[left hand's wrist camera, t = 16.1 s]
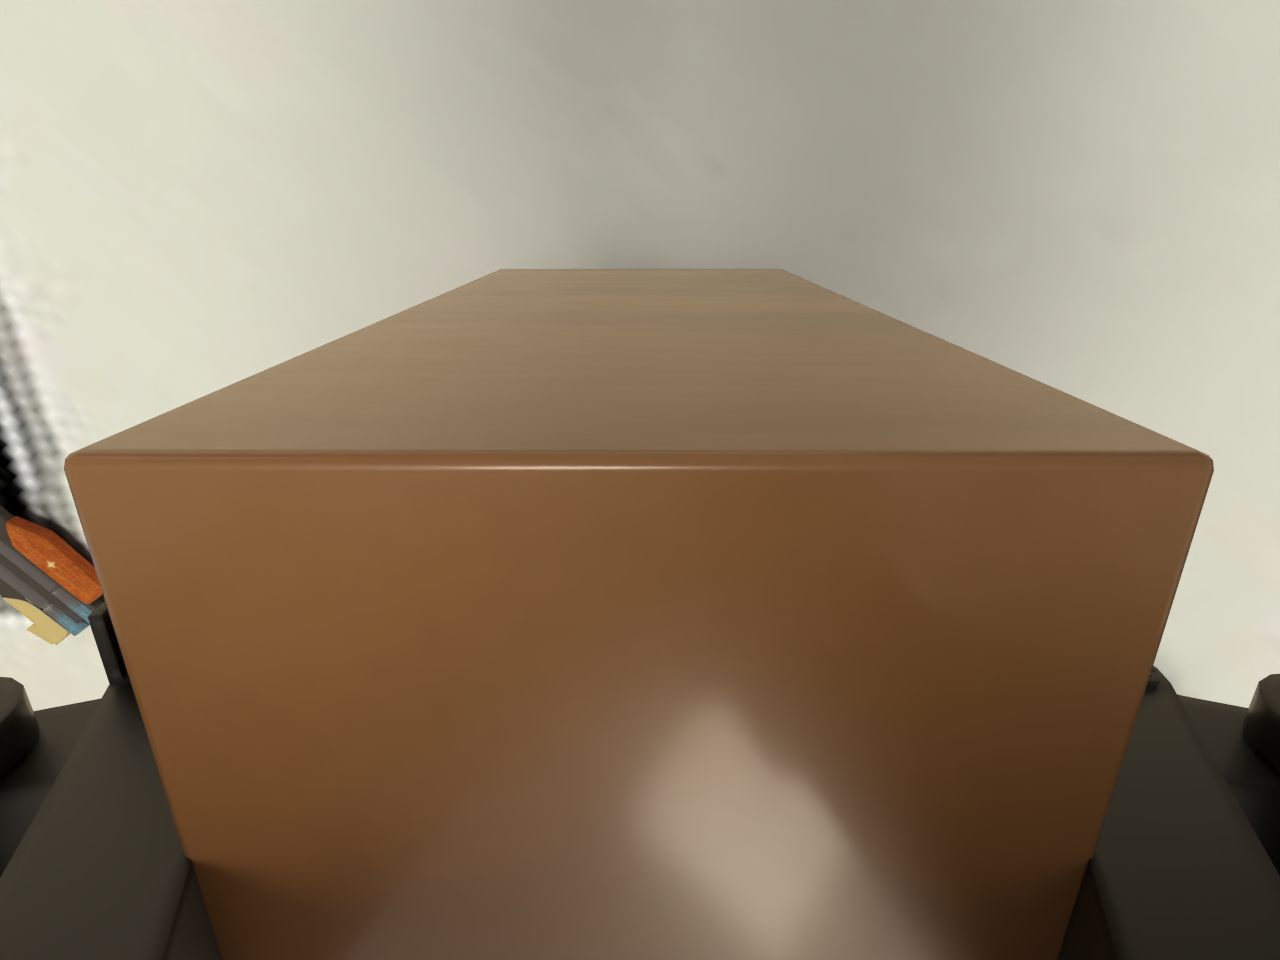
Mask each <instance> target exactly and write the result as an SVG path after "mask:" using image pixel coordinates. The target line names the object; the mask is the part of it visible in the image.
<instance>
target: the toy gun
mask: <svg viewBox="0 0 1280 960" xmlns="http://www.w3.org/2000/svg"><path fill="white" fill-rule="evenodd" d="M102 594H103V592H102V589H101V586H100V583H99V579H98V576H97V573H96V570H95V567H94V566H92V565H91V564H90V563H89V562H88V561H87V560H86V559H84V558H83V557H82V556H81V555H80V554H79V553H77V552H76V551H75V550H74V549H73V548H72V547H71V546H69V545H68V544H67V543H66V542H65V541H64V540H63V539H61V538H60V537H59V536H58V535H57V534H56V533H54V532H53V531H51V530H49V529H47V528H45V527H42V526H40V525H37V524H35V523H33V522H30V521H28V520H25V519H23V518H21V517H18V516H14V515H12V514H10V513H9V512H8V511H6V510H5V509H4V508H3V507H2V506H1V505H0V595H2V598H3V599H4V600H6V601H7V602H8V603H9V604H11V605H12V606H13V607H14V608H16V609H17V610H18V611H20V612H21V613H22V614H23V615H25V616H26V617H27V618H28V619H29V620H31V621H32V622H33V623H34V624H33V625H32V626H31V627H29V628H28V629H27V630H28V631H30V632H31V633H33V634H35V635H37V636H38V637H40V638H42V639H44V640H45V641H47V642H49V643H50V644H53V643H54V644H56V645H57V644H58V643H60V642H61V641H62V640H63V639H65V638H66V637H67V636H68V635H69V634H70V633H71V634H73V635H74V636H76V635H78V634H79V633H80V632H81V631H83V630H84V629H85V628H86V627H87V626H89V625H90V623H89V620H88V616H89V615H90V614H91V613H92V612H93V611H94V610H95V609H96V608H98V607H99V606H100V605H101V604H102V603H103V602H102V601H100V600H99V599H98V597H100V596H101V595H102Z"/></svg>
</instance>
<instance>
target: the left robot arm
mask: <svg viewBox="0 0 1280 960" xmlns="http://www.w3.org/2000/svg"><path fill="white" fill-rule="evenodd" d="M88 620H89V623H90V626H91V629H92V632H93V635H94V638H95V641H96V644H97V647H98V650H99V653H100V656H101V659H102V662H103V665H104V668H105V671H106V674H107V677H108V680H109V683H110V685H109V686H108V688H107V690H106V692H105V693H104V695H103V697H102V698H101V699H97V700H92V701H86V702H81V703H76V704H70V705H65V706H60V707H54V708H49V709H44V710H39V711H33V709H32V707H31V704H30V702H29V699H28V696H27V694H26V691H25V689H24V686H23V685H22V684H20V683H19V682H17V681H16V680H14V679H12V678H7V677H0V960H223V959H222V956H221V953H220V950H219V947H218V943H217V940H216V937H215V934H214V930H213V927H212V924H211V921H210V918H209V914H208V911H207V908H206V905H205V901H204V898H203V895H202V892H201V889H200V885H199V882H198V879H197V876H196V872H195V869H194V866H193V863H192V860H191V859H189V858H187V857H185V854H184V851H183V848H182V845H181V842H180V838H179V835H178V832H177V829H176V826H175V822H174V819H173V816H172V813H171V810H170V806H169V803H168V800H167V797H166V794H165V790H164V787H163V784H162V781H161V778H160V774H159V771H158V768H157V765H156V762H155V758H154V755H153V752H152V749H151V746H150V742H149V739H148V736H147V733H146V730H145V727H144V723H143V720H142V717H141V714H140V711H139V707H138V704H137V701H136V698H135V695H134V691H133V688H132V685H131V682H130V679H129V675H128V672H127V669H126V666H125V663H124V659H123V656H122V653H121V650H120V647H119V643H118V640H117V637H116V634H115V631H114V627H113V624H112V621H111V618H110V615H109V611H108V608H107V605H106V602H104V603H102V604H101V605H100V606H99V607H98V608H96V609H95V610H94V611H93V612H92V613H91V614H90V615H89V616H88ZM1058 960H1280V674H1272V675H1269V676H1268V677H1266V678H1264V679H1263V680H1261V681H1259V683H1258V686H1257V688H1256V691H1255V693H1254V696H1253V699H1252V701H1251V704H1250V706H1249V708H1244V707H1239V706H1233V705H1228V704H1223V703H1217V702H1212V701H1207V700H1201V699H1196V698H1191V697H1185V696H1181V695H1177V694H1176V692H1175V690H1174V689H1173V687H1172V685H1171V683H1170V682H1169V681H1168V680H1167V679H1166V678H1165V677H1164V675H1163V674H1162V673H1161V672H1160V671H1159V670H1158V669H1157V668H1156V667H1154V666H1153V667H1152V670H1151V674H1150V677H1149V680H1148V683H1147V686H1146V690H1145V693H1144V696H1143V699H1142V702H1141V706H1140V709H1139V712H1138V715H1137V718H1136V722H1135V725H1134V728H1133V731H1132V734H1131V738H1130V741H1129V744H1128V747H1127V751H1126V754H1125V757H1124V760H1123V763H1122V767H1121V770H1120V773H1119V776H1118V779H1117V783H1116V786H1115V789H1114V792H1113V795H1112V799H1111V802H1110V805H1109V808H1108V811H1107V815H1106V818H1105V821H1104V824H1103V828H1102V831H1101V834H1100V837H1099V840H1098V844H1097V847H1096V850H1095V853H1094V856H1093V858H1091V859H1089V861H1088V865H1087V868H1086V871H1085V874H1084V878H1083V881H1082V884H1081V887H1080V890H1079V894H1078V897H1077V900H1076V903H1075V906H1074V910H1073V913H1072V916H1071V919H1070V923H1069V926H1068V929H1067V932H1066V935H1065V939H1064V942H1063V945H1062V948H1061V952H1060V955H1059V958H1058Z"/></svg>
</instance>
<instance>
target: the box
mask: <svg viewBox="0 0 1280 960" xmlns="http://www.w3.org/2000/svg"><path fill="white" fill-rule="evenodd" d="M64 471H65V474H66V477H67V480H68V483H69V487H70V490H71V493H72V496H73V499H74V503H75V506H76V509H77V512H78V515H79V519H80V522H81V525H82V528H83V531H84V535H85V538H86V541H87V544H88V547H89V551H90V554H91V557H92V560H93V563H94V567H95V570H96V573H97V576H98V579H99V583H100V586H101V589H102V592H103V595H104V599H105V602H106V605H107V608H108V611H109V615H110V618H111V621H112V624H113V627H114V631H115V634H116V637H117V640H118V643H119V647H120V650H121V653H122V656H123V659H124V663H125V666H126V669H127V672H128V675H129V679H130V682H131V685H132V688H133V691H134V695H135V698H136V701H137V704H138V707H139V711H140V714H141V717H142V720H143V723H144V727H145V730H146V733H147V736H148V739H149V742H150V746H151V749H152V752H153V755H154V758H155V762H156V765H157V768H158V771H159V774H160V778H161V781H162V784H163V787H164V790H165V794H166V797H167V800H168V803H169V806H170V810H171V813H172V816H173V819H174V822H175V826H176V829H177V832H178V835H179V838H180V842H181V845H182V848H183V851H184V854H185V857H187V858H189V859H191V860H192V863H193V866H194V869H195V872H196V876H197V879H198V882H199V885H200V889H201V892H202V895H203V898H204V901H205V905H206V908H207V911H208V914H209V918H210V921H211V924H212V927H213V930H214V934H215V937H216V940H217V943H218V947H219V950H220V953H221V956H222V959H223V960H1058V958H1059V955H1060V952H1061V948H1062V945H1063V942H1064V939H1065V935H1066V932H1067V929H1068V926H1069V923H1070V919H1071V916H1072V913H1073V910H1074V906H1075V903H1076V900H1077V897H1078V894H1079V890H1080V887H1081V884H1082V881H1083V878H1084V874H1085V871H1086V868H1087V865H1088V861H1089V859H1091V858H1093V856H1094V853H1095V850H1096V847H1097V844H1098V840H1099V837H1100V834H1101V831H1102V828H1103V824H1104V821H1105V818H1106V815H1107V811H1108V808H1109V805H1110V802H1111V799H1112V795H1113V792H1114V789H1115V786H1116V783H1117V779H1118V776H1119V773H1120V770H1121V767H1122V763H1123V760H1124V757H1125V754H1126V751H1127V747H1128V744H1129V741H1130V738H1131V734H1132V731H1133V728H1134V725H1135V722H1136V718H1137V715H1138V712H1139V709H1140V706H1141V702H1142V699H1143V696H1144V693H1145V690H1146V686H1147V683H1148V680H1149V677H1150V674H1151V670H1152V667H1153V664H1154V661H1155V657H1156V654H1157V651H1158V648H1159V645H1160V641H1161V638H1162V635H1163V632H1164V629H1165V625H1166V622H1167V619H1168V616H1169V613H1170V609H1171V606H1172V603H1173V600H1174V597H1175V593H1176V590H1177V587H1178V584H1179V581H1180V577H1181V574H1182V571H1183V568H1184V564H1185V561H1186V558H1187V555H1188V552H1189V548H1190V545H1191V542H1192V539H1193V536H1194V532H1195V529H1196V526H1197V523H1198V520H1199V516H1200V513H1201V510H1202V507H1203V504H1204V500H1205V497H1206V494H1207V491H1208V487H1209V484H1210V481H1211V478H1212V475H1213V471H1214V468H1213V460H1212V459H1211V458H1210V457H1209V455H1207V454H1205V453H1202V452H1200V451H1198V450H1196V449H1193V448H1191V447H1189V446H1186V445H1184V444H1182V443H1179V442H1177V441H1175V440H1173V439H1170V438H1168V437H1166V436H1163V435H1161V434H1159V433H1156V432H1154V431H1152V430H1150V429H1147V428H1145V427H1143V426H1140V425H1138V424H1136V423H1133V422H1131V421H1129V420H1127V419H1124V418H1122V417H1120V416H1117V415H1115V414H1113V413H1110V412H1108V411H1106V410H1104V409H1101V408H1099V407H1097V406H1094V405H1092V404H1090V403H1087V402H1085V401H1083V400H1081V399H1078V398H1076V397H1074V396H1071V395H1069V394H1067V393H1064V392H1062V391H1060V390H1058V389H1055V388H1053V387H1051V386H1048V385H1046V384H1044V383H1041V382H1039V381H1037V380H1035V379H1032V378H1030V377H1028V376H1025V375H1023V374H1021V373H1018V372H1016V371H1014V370H1012V369H1009V368H1007V367H1005V366H1002V365H1000V364H998V363H995V362H993V361H991V360H989V359H986V358H984V357H982V356H979V355H977V354H975V353H972V352H970V351H968V350H966V349H963V348H961V347H959V346H956V345H954V344H952V343H949V342H947V341H945V340H943V339H940V338H938V337H936V336H933V335H931V334H929V333H926V332H924V331H922V330H919V329H917V328H915V327H913V326H910V325H908V324H906V323H903V322H901V321H899V320H896V319H894V318H892V317H890V316H887V315H885V314H883V313H880V312H878V311H876V310H873V309H871V308H869V307H867V306H864V305H862V304H860V303H857V302H855V301H853V300H850V299H848V298H846V297H844V296H841V295H839V294H837V293H834V292H832V291H830V290H827V289H825V288H823V287H821V286H818V285H816V284H814V283H811V282H809V281H807V280H804V279H802V278H800V277H798V276H795V275H793V274H791V273H788V272H786V271H784V270H781V269H501V270H498V271H496V272H493V273H491V274H489V275H486V276H484V277H482V278H479V279H477V280H475V281H472V282H470V283H468V284H465V285H463V286H461V287H458V288H456V289H454V290H451V291H449V292H447V293H444V294H442V295H440V296H437V297H435V298H433V299H430V300H428V301H426V302H423V303H421V304H419V305H416V306H414V307H412V308H409V309H407V310H405V311H402V312H400V313H398V314H395V315H393V316H391V317H388V318H386V319H384V320H381V321H379V322H377V323H374V324H372V325H370V326H367V327H365V328H363V329H360V330H358V331H356V332H353V333H351V334H349V335H346V336H344V337H342V338H339V339H337V340H335V341H332V342H330V343H328V344H325V345H323V346H321V347H318V348H316V349H314V350H311V351H309V352H307V353H304V354H302V355H300V356H297V357H295V358H293V359H290V360H288V361H286V362H283V363H281V364H279V365H276V366H274V367H272V368H269V369H267V370H265V371H262V372H260V373H258V374H255V375H253V376H251V377H248V378H246V379H244V380H241V381H239V382H237V383H234V384H232V385H230V386H227V387H225V388H222V389H220V390H218V391H215V392H213V393H211V394H208V395H206V396H204V397H201V398H199V399H197V400H194V401H192V402H190V403H187V404H185V405H183V406H180V407H178V408H176V409H173V410H171V411H169V412H166V413H164V414H162V415H159V416H157V417H155V418H152V419H150V420H148V421H145V422H143V423H141V424H138V425H136V426H134V427H131V428H129V429H127V430H124V431H122V432H120V433H117V434H115V435H113V436H110V437H108V438H106V439H103V440H101V441H99V442H96V443H94V444H92V445H89V446H87V447H85V448H82V449H80V450H78V451H76V452H73V453H71V454H69V455H68V457H67V458H66V459H65V466H64Z"/></svg>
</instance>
